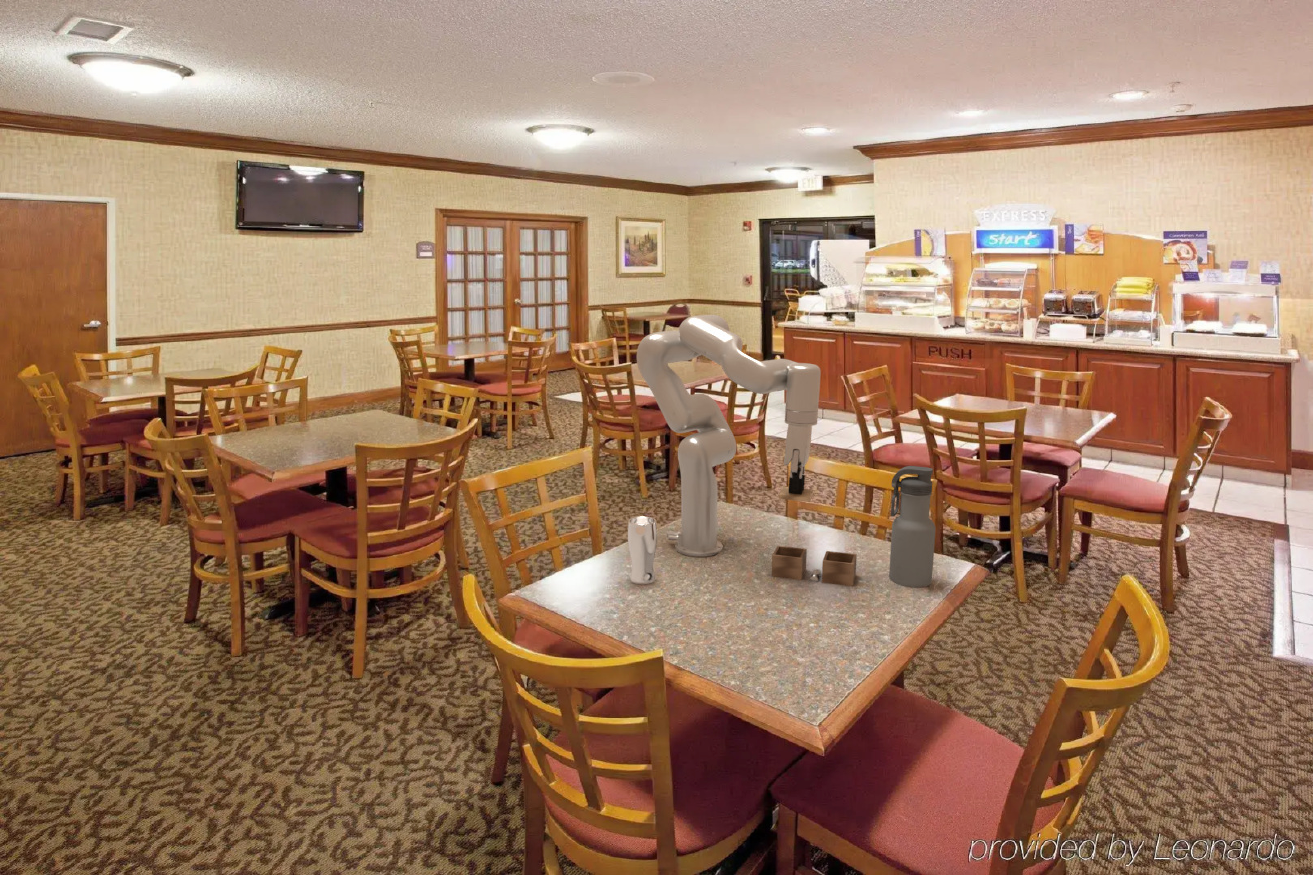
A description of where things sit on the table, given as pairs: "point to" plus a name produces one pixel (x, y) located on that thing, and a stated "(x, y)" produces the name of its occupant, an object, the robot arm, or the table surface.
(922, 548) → the water bottle
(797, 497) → the lid
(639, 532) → the beer glass
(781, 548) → the brown open box
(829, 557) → the brown square open-topped box
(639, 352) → the robot arm
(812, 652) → the table surface
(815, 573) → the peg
